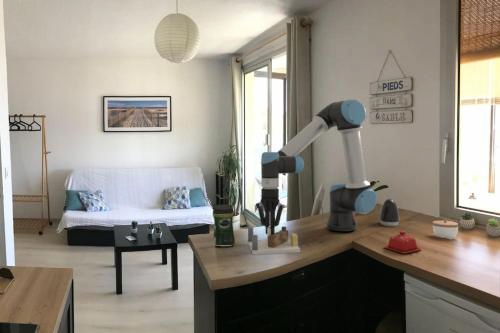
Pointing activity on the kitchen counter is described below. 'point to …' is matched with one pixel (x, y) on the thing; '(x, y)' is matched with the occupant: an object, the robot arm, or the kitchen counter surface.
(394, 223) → the dark grey dome
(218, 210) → the coffee jar
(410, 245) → the butter dish
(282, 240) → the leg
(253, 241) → the white board with blocks
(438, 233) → the lidded jar
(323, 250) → the kitchen counter surface
